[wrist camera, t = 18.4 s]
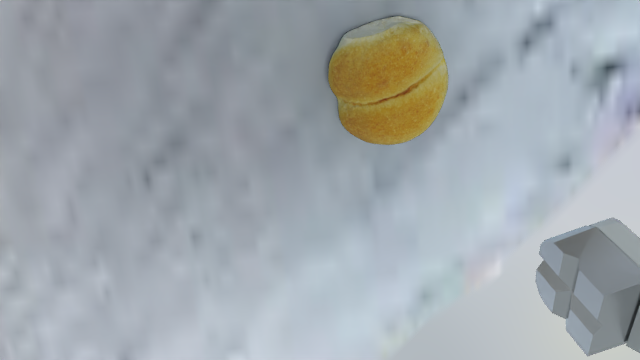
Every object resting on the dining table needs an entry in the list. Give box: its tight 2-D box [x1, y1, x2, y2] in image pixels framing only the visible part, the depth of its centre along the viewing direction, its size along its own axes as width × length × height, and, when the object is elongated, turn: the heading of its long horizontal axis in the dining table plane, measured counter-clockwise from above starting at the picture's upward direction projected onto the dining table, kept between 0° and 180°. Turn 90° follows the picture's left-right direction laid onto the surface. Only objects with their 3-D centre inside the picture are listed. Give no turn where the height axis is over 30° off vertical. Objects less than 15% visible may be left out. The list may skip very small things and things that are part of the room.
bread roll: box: [328, 16, 448, 145], centre depth 40 cm, size 8×9×4 cm
